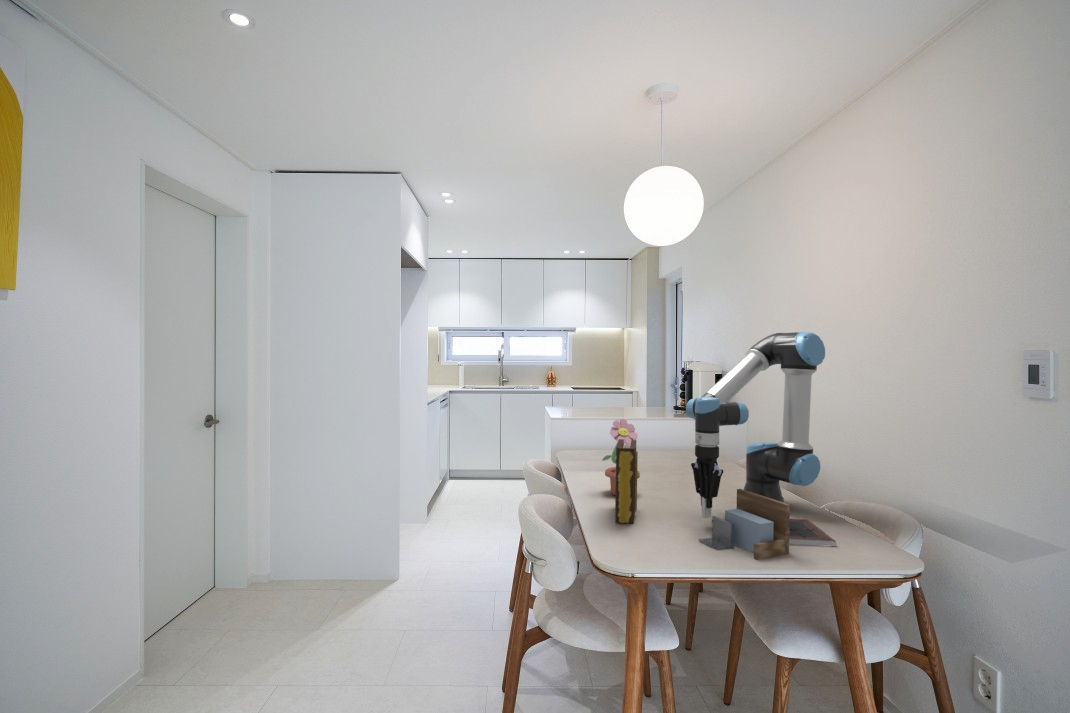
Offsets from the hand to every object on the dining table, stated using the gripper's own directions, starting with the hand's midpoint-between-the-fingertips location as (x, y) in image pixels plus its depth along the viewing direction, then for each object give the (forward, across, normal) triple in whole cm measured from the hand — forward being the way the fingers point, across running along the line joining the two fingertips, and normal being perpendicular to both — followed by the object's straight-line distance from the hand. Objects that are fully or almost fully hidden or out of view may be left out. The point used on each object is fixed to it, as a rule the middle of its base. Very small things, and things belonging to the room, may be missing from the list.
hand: (706, 517), depth 178 cm
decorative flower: (+4, -45, -4) cm, 45 cm away
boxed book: (+3, +18, 0) cm, 19 cm away
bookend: (+3, +14, -8) cm, 17 cm away
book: (+3, -21, -17) cm, 28 cm away
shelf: (+3, +18, 0) cm, 18 cm away
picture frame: (+5, +15, +22) cm, 27 cm away
